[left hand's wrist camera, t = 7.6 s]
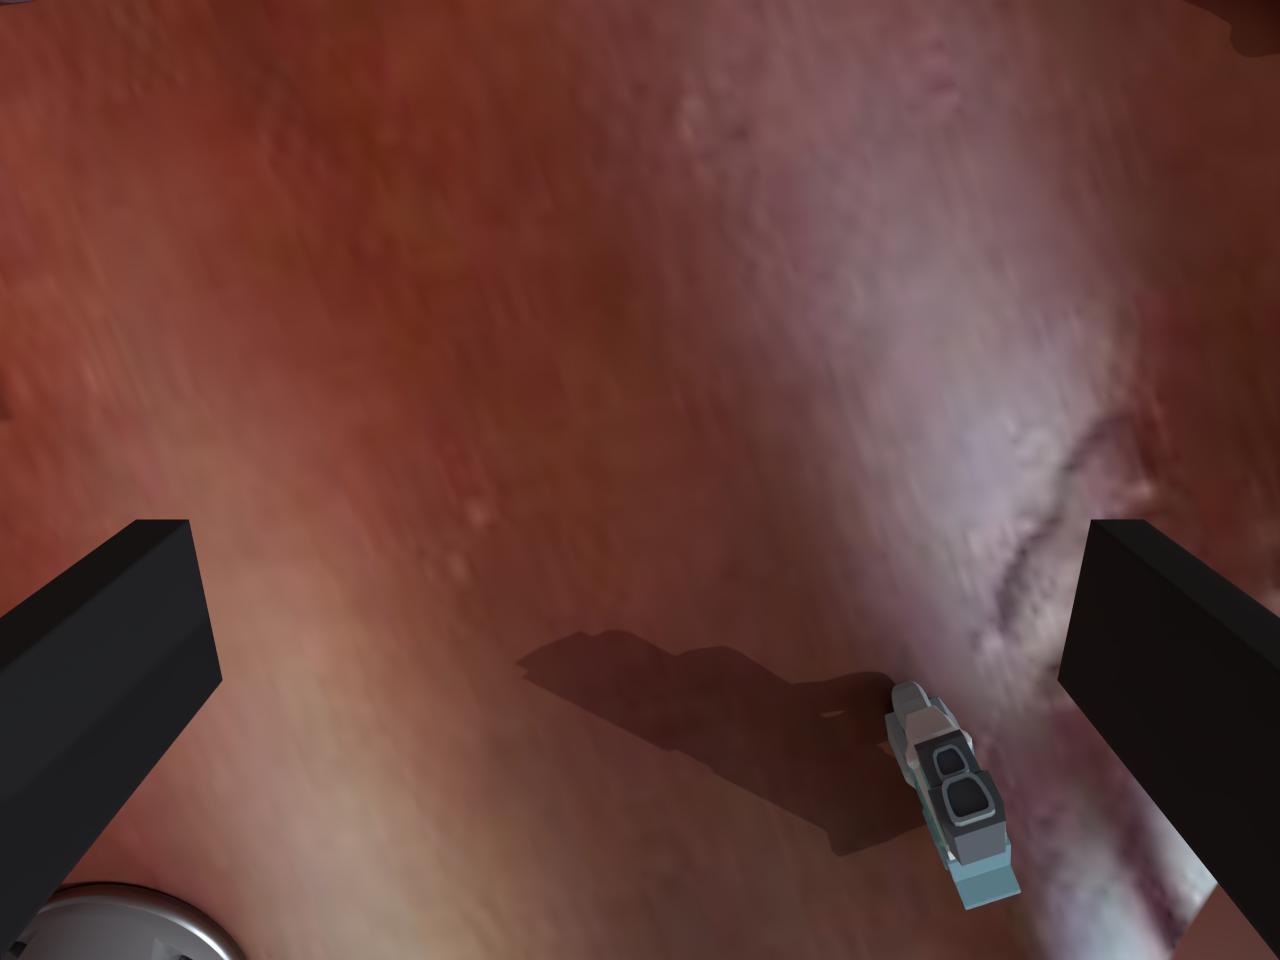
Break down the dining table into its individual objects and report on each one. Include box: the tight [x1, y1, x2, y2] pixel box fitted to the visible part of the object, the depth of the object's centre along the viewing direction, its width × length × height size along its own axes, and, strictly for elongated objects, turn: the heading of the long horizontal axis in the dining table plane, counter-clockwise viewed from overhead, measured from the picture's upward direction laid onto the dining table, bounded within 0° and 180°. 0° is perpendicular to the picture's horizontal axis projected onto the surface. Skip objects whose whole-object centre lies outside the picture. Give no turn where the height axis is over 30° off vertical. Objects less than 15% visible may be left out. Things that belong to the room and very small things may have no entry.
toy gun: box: [885, 680, 1021, 910], centre depth 42 cm, size 4×19×10 cm
